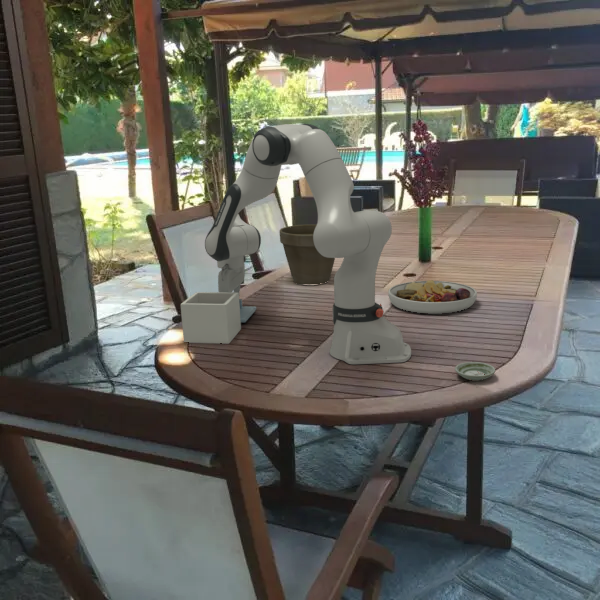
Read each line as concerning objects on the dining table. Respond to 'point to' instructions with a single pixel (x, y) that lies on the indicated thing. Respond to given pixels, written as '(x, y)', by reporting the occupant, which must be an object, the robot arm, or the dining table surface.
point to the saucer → (475, 370)
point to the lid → (245, 311)
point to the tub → (211, 317)
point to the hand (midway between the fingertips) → (233, 300)
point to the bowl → (432, 296)
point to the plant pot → (305, 255)
